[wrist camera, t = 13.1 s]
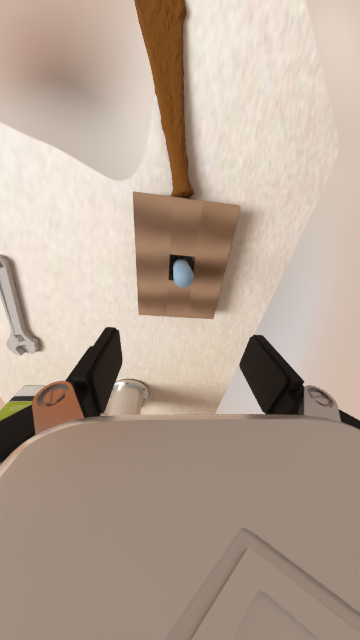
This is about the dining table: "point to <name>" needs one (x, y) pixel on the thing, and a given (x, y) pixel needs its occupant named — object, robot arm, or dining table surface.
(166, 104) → the primitive tool
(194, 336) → the dining table surface
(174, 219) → the hole block
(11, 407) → the tea box
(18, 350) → the adjustable wrench
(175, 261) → the peg
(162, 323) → the dining table surface
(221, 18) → the dining table surface
